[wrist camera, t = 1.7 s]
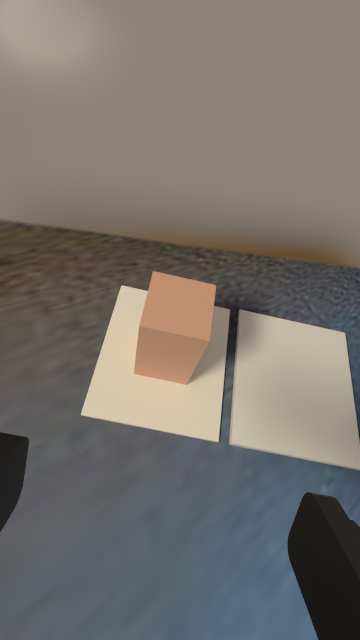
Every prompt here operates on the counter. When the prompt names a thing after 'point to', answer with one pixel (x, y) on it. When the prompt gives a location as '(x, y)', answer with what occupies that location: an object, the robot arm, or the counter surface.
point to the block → (174, 327)
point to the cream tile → (155, 394)
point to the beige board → (293, 391)
